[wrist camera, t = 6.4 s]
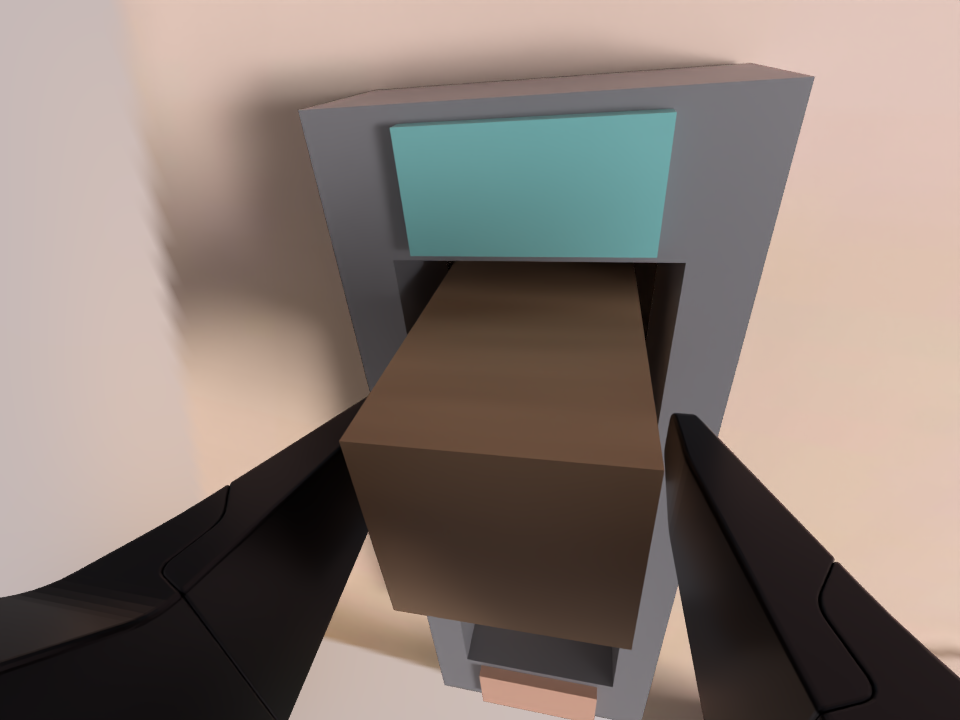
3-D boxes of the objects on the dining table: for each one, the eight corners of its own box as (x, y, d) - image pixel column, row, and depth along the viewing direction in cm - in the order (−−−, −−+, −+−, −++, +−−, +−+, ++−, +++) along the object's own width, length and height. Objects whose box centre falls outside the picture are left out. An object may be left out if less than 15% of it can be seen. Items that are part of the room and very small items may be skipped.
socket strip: (635, 634, 22) (641, 737, 18) (463, 605, 23) (442, 695, 20) (751, 62, 9) (826, 78, 6) (374, 89, 11) (286, 113, 8)
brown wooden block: (617, 366, 14) (631, 650, 8) (483, 360, 15) (394, 610, 8) (629, 232, 12) (664, 470, 5) (472, 234, 13) (339, 441, 6)
